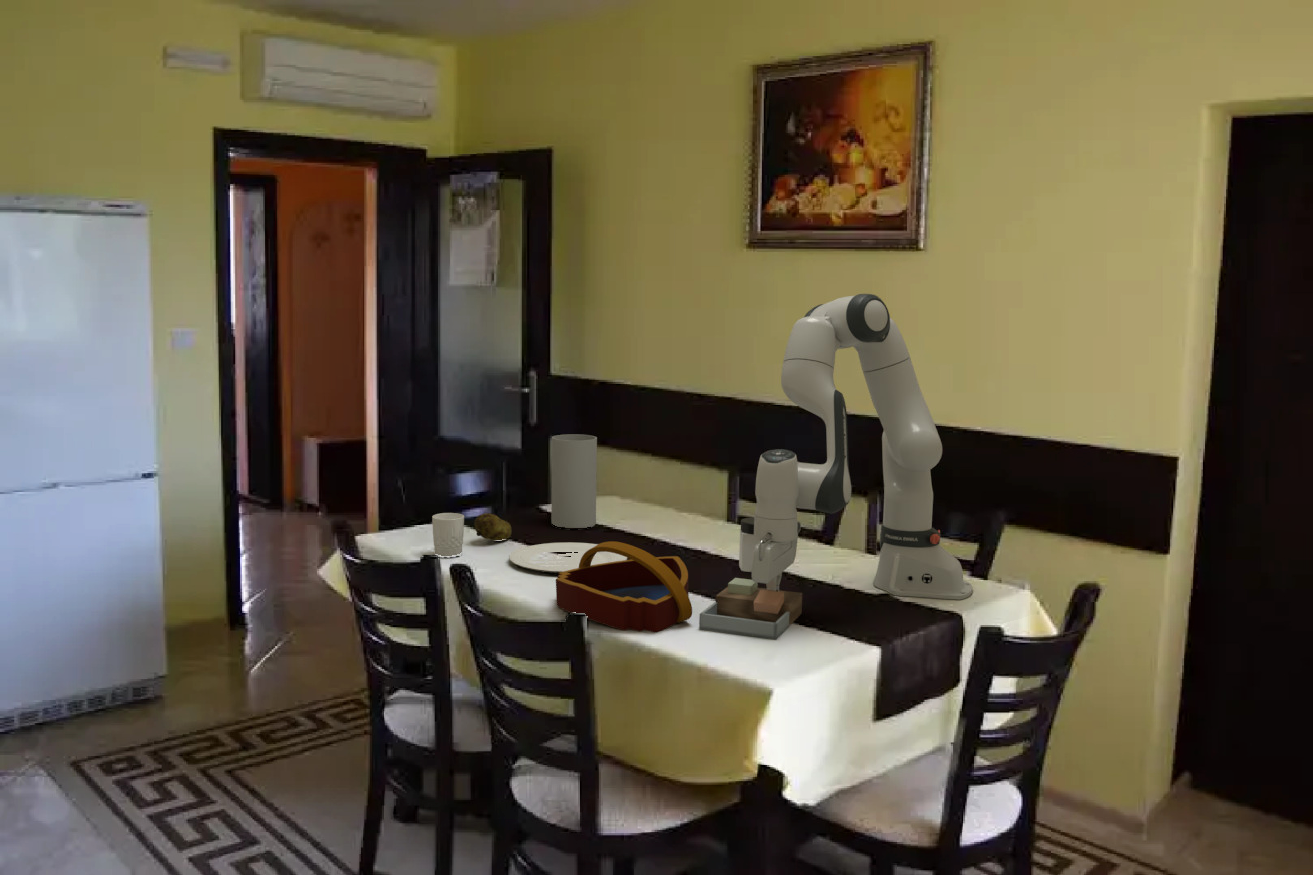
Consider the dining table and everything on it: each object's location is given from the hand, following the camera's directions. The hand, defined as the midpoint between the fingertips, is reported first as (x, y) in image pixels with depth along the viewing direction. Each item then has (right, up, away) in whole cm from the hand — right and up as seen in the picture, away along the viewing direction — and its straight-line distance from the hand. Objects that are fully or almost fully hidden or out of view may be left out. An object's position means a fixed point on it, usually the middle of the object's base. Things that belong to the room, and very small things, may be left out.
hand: (772, 594), depth 246 cm
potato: (-67, +5, +66) cm, 94 cm away
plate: (-46, +1, +46) cm, 65 cm away
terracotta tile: (-1, -2, -3) cm, 4 cm away
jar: (0, 0, +43) cm, 43 cm away
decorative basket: (-30, -5, +7) cm, 31 cm away
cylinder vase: (-48, +8, +87) cm, 100 cm away
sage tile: (-6, 0, +6) cm, 8 cm away
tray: (-6, -6, -5) cm, 10 cm away
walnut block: (-3, -5, +4) cm, 7 cm away
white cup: (-76, +3, +51) cm, 92 cm away
